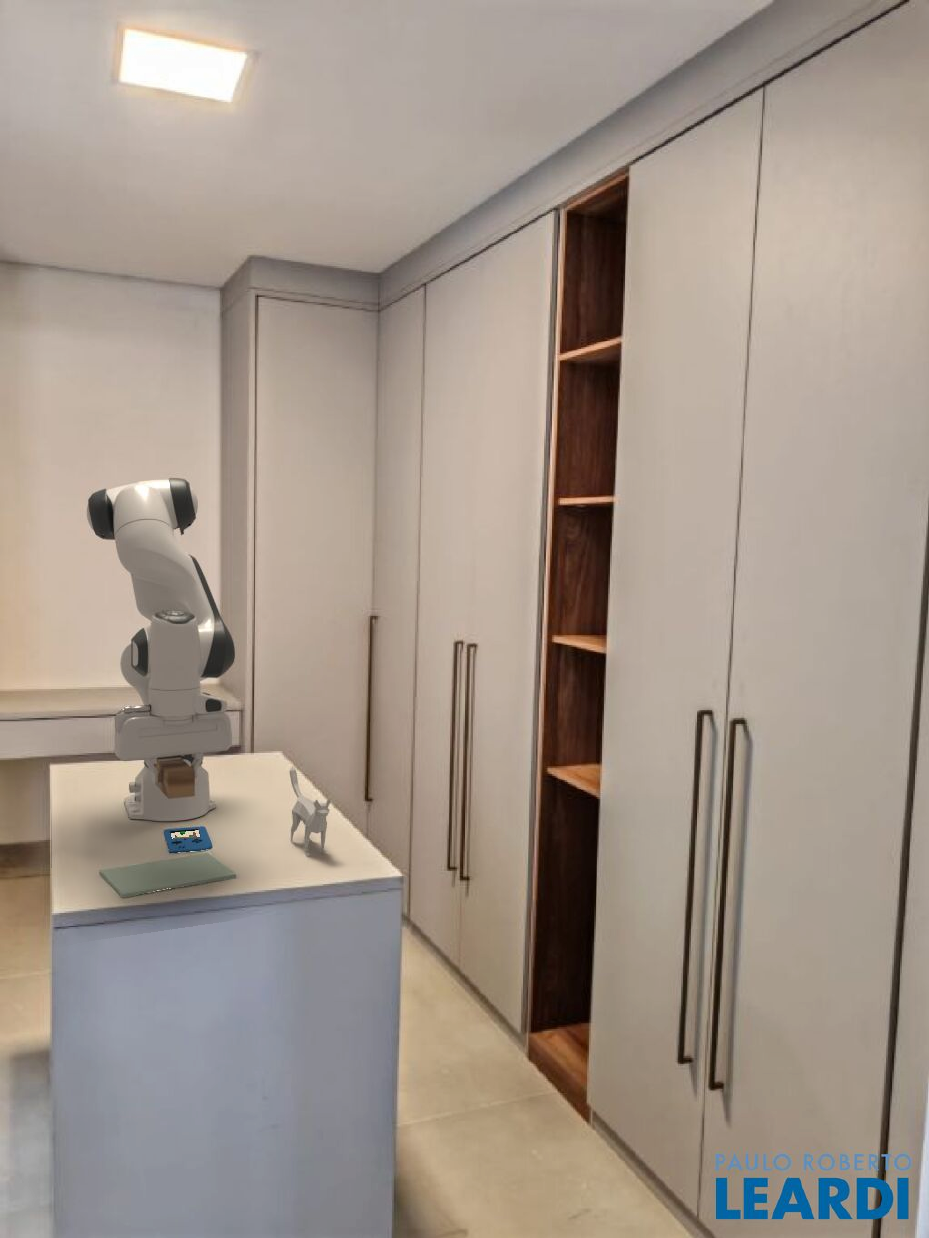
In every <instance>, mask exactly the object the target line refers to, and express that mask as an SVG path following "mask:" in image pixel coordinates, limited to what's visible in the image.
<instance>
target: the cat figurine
mask: <svg viewBox="0 0 929 1238" xmlns="http://www.w3.org/2000/svg"><path fill="white" fill-rule="evenodd" d="M289 778H290V782H291V783H290V784H291V787H292V789H293V792H294V794H295V796H296V797H297V801H296V803H295V804H294V806H293V807H292V810H291V815H292V816H291V817H292V825H291V827H290V828H291V829H290V843H291V844H292V845H295V841H293V840H294V839H293V837H294V833H295V832H296V831H297V829H298V827H299V825H300V823H301V822H302V823H303V825H304V839H303V841H304V855H305V856H307V857H310V856H311V855H310V854H309V852H308V850H309V843H312V842H313V840H312V839H310V837H311V834H312V833H314V834H318V833H319V834H320V844H321V846H320V847H321V854H323V855H326V854H327V853H326V851H325V843H326V837H327V836H326V832H327V826H328V821H327V816H328V815H329V813H330V809H329V806H330V804H332V803H331V802H332V801H331V800H330V799H329V798H327V799H326V801H325V802H319V801H318V799H316V800H315V801H314V800H311V799H310V798H307V797H305V796H304V795H303V794H302V792H301V790H300V787H299V782H298V781H299V780H298V773H297V770H296V768H294V766H292V765H291V768H290V769H289Z"/></svg>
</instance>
